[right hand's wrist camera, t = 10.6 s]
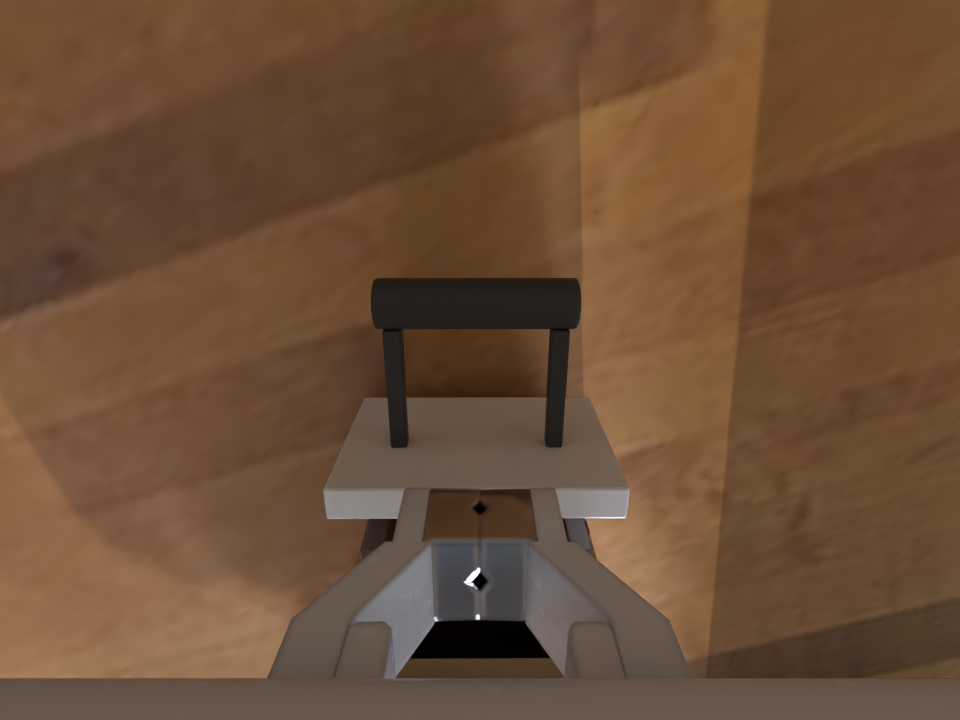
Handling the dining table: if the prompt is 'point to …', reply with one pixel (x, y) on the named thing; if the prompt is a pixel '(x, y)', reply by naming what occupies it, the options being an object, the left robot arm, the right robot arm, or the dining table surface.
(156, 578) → the dining table surface
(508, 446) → the drawer
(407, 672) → the cabinet
